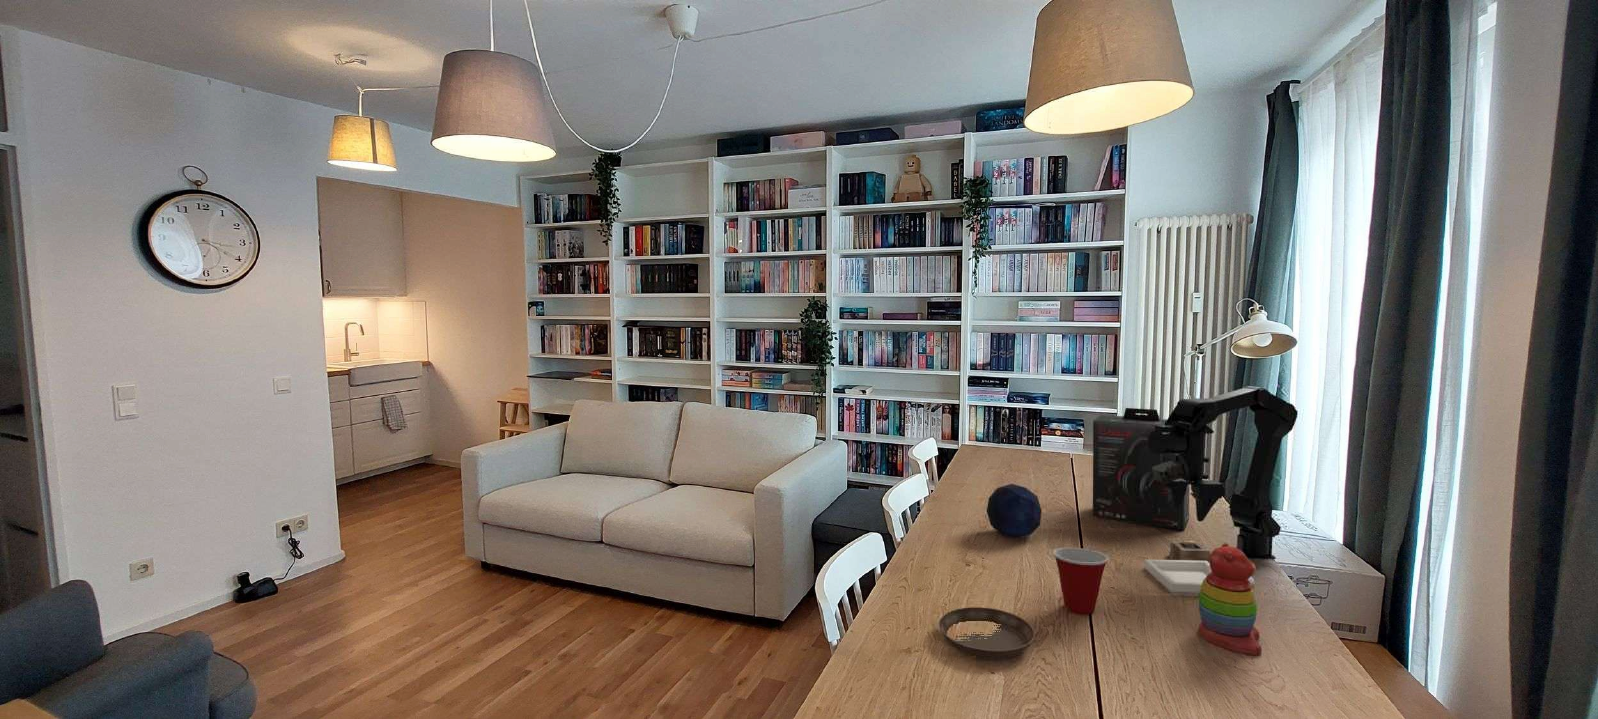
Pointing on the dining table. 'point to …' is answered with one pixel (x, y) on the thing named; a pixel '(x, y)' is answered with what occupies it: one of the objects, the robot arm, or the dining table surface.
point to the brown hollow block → (1188, 552)
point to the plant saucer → (997, 646)
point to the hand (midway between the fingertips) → (1188, 515)
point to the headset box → (1132, 472)
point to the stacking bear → (1229, 602)
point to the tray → (1179, 574)
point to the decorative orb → (1014, 511)
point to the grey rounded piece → (1189, 544)
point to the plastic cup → (1080, 577)
